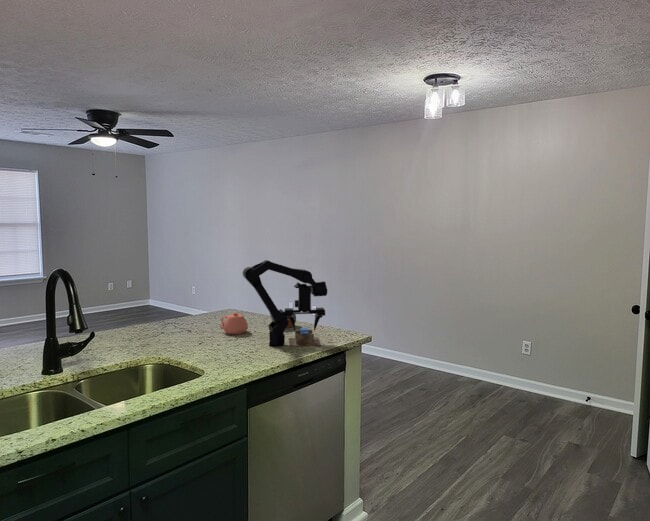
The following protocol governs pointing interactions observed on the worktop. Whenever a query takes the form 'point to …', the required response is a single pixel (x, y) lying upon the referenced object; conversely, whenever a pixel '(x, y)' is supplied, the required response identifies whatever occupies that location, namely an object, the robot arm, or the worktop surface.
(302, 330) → the block
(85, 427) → the worktop surface
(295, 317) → the tin
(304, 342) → the cradle
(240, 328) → the sugar bowl
